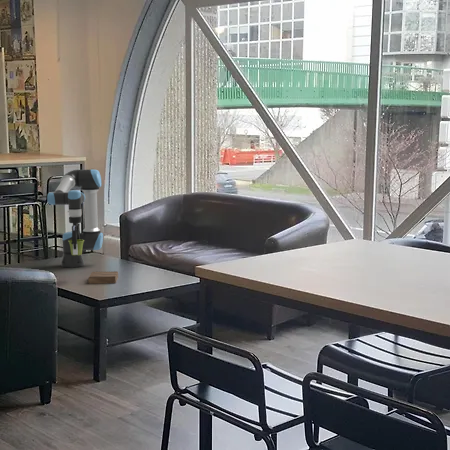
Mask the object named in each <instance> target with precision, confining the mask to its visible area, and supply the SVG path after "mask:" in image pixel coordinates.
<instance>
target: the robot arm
mask: <svg viewBox="0 0 450 450" xmlns="http://www.w3.org/2000/svg"><path fill="white" fill-rule="evenodd" d="M101 187H102V176H101V173H100V171H99V170H97V169H90V168H89V169H73V170H70V171H67V173H65V174H64V175H63V176H62V177H61V178H60V183H59V185H58V186H57V187H56V189H55V190H54V192H52V191H51V192H48V193H47V195H46V196H47V201H46V202H47V203H48V204H49V205H50V206H51V205H52V206H63V205H64V206H65V205H68V210H67V213H68V222H69V224H72V226H71V231H68V232H64V233H62V257H61V261H60V267H62V268H71V269H73V268H80V267H84V265H85V262H84V259H83V256H82V255H78V247H77V239H81V240H84V242H83V247H82V251H99V250H101V249H102V246H103V243H104V234H103V232H101V229H100V228H99V220H98V219H99V218H98V214H99V213H98V212H99V211H98V192H99V191H100V188H101ZM74 188H81V191H82V192H81V191H80V190H77V189H74ZM71 189H73V190H71ZM82 204H83V205H84V228H83V230H82V232H81V231H80V229H81V228H80V223H82V222H83V218H82V217H83V216H82V215H83V214H82V213H83V212H82V211H83V210H82ZM69 240H72V243H71V244H73V255H72V254H71V248H70V244H69V242H68V241H69Z"/></svg>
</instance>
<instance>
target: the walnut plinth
mask: <svg viewBox="0 0 450 450" xmlns="http://www.w3.org/2000/svg"><path fill="white" fill-rule="evenodd" d="M118 279H119V271H115V270H114V271H92V272H91V273H90V275H89V276H88V284H89V285H93V284H95V285H96V284H116V283H117V281H118Z"/></svg>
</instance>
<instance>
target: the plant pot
mask: <svg viewBox="0 0 450 450" xmlns="http://www.w3.org/2000/svg"><path fill="white" fill-rule="evenodd" d="M68 242H69V244H70V248H71V254H72V255H73V244H71V243H72V240H69V241H68ZM83 242H84V240H81V239H77V247H78V255H81V256H82V254H83V250H82V247H83Z"/></svg>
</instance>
